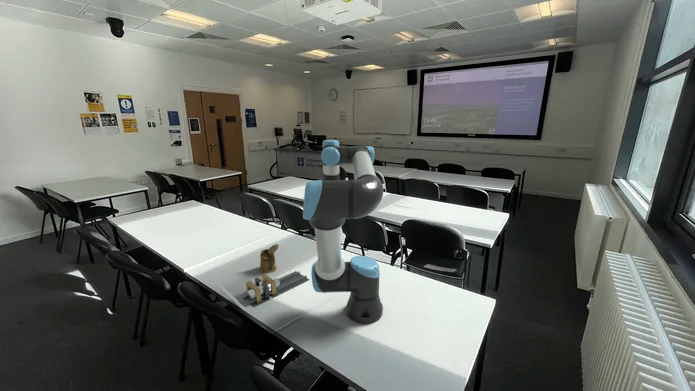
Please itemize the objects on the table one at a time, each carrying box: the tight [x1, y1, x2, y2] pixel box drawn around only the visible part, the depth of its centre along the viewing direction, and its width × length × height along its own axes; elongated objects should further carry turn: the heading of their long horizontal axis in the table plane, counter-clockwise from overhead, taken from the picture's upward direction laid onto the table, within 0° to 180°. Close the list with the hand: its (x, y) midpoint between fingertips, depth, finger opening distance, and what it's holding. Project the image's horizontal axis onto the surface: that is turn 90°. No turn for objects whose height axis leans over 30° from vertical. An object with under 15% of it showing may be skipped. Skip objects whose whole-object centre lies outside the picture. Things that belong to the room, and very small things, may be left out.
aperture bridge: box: [254, 277, 269, 299], centre depth 127 cm, size 9×2×6 cm, turn 45°
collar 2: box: [260, 273, 277, 296], centre depth 129 cm, size 9×2×6 cm, turn 45°
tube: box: [246, 278, 280, 300], centre depth 128 cm, size 14×4×4 cm, turn 135°
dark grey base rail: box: [240, 270, 311, 308], centre depth 133 cm, size 12×30×2 cm, turn 135°
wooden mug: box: [259, 243, 280, 274], centre depth 146 cm, size 9×14×18 cm, turn 46°
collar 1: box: [245, 280, 262, 304], centre depth 124 cm, size 9×2×6 cm, turn 45°
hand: (332, 221), depth 137 cm, fingers closed
